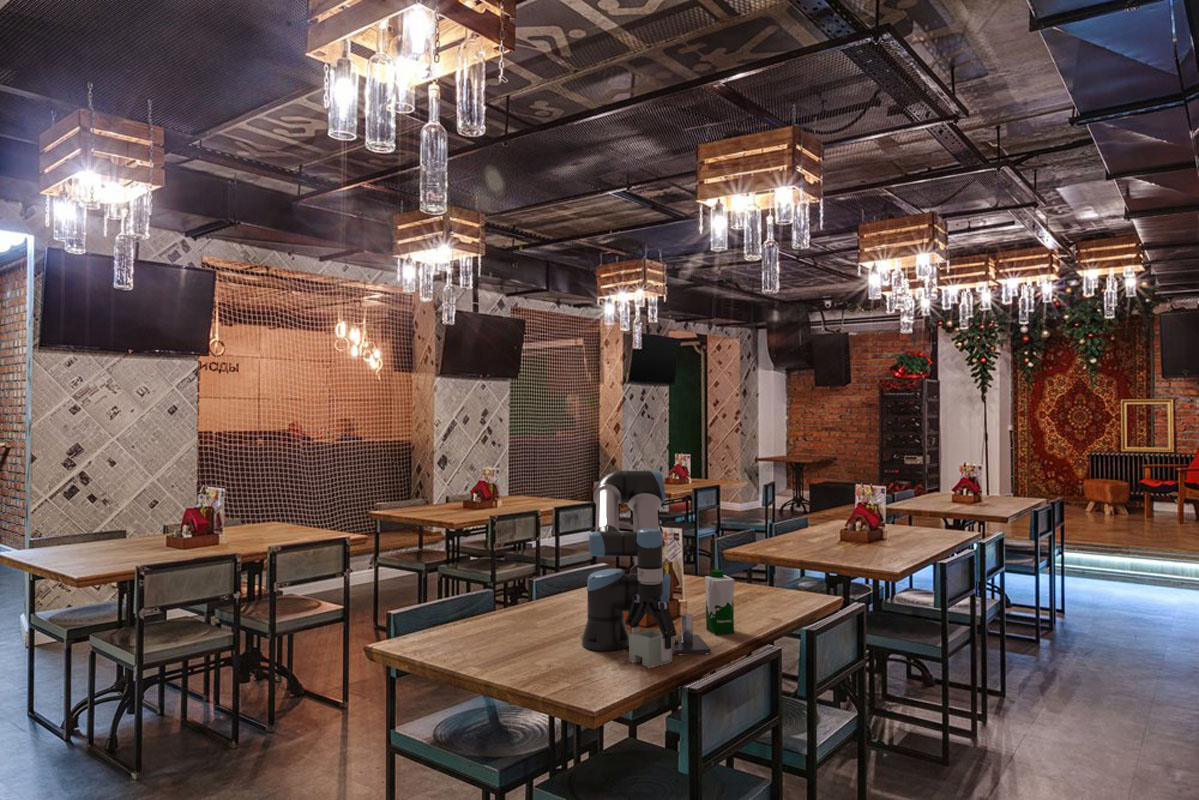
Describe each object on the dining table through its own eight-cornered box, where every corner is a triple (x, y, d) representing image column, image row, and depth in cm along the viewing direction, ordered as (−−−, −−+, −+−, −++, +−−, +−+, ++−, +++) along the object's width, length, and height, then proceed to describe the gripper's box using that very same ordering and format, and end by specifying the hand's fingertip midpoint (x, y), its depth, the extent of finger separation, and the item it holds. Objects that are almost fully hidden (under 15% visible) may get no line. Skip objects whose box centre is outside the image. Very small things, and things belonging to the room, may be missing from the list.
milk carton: (726, 627, 269) (725, 568, 269) (737, 634, 260) (737, 573, 260) (702, 628, 266) (702, 570, 267) (713, 636, 258) (713, 575, 258)
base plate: (675, 655, 237) (675, 622, 237) (664, 640, 253) (664, 609, 253) (710, 653, 238) (710, 620, 238) (698, 639, 254) (697, 608, 254)
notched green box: (648, 668, 225) (648, 640, 225) (629, 660, 232) (629, 633, 232) (672, 662, 230) (672, 635, 230) (652, 655, 237) (652, 628, 237)
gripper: (614, 577, 239) (614, 647, 238) (668, 590, 219) (669, 666, 218) (633, 574, 244) (633, 642, 243) (688, 587, 224) (688, 662, 223)
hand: (650, 654), depth 231 cm, fingers open, 13 cm apart
